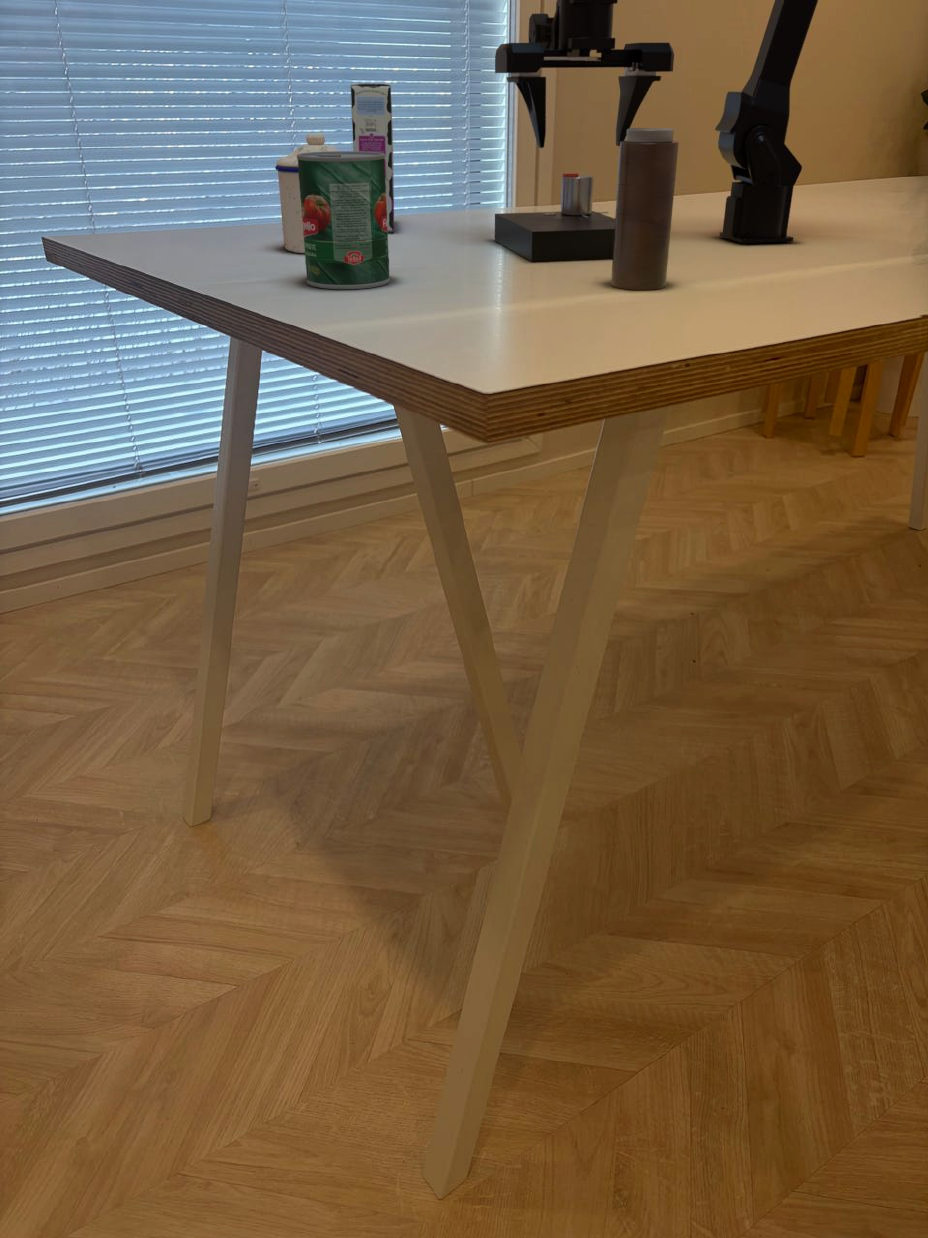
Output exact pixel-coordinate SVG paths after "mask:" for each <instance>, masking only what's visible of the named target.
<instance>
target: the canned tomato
mask: <svg viewBox="0 0 928 1238" xmlns="http://www.w3.org/2000/svg"><path fill="white" fill-rule="evenodd" d="M297 159H298V170H299V183H300V187H299V188H300V198H301V209H302V221H303V236H304V247H305V253H304V259H305V262H304V263H305V270H306V284H307V285H309V286H311V287H315V288H319V289H329V290H361V289H362V290H363V289H371V288H377V287H382V286H385V285H387V284H389V283H390V282H391V277H390V255H389V252H390V251H389V232H388V230H387V225H388V223H387V203H386V181H385V179H386V175H385V154H384V153H379V152H363V151H353V150H347V151H346V150H339V151H326V152H308V153H300V154H297Z"/></svg>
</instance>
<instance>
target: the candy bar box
mask: <svg viewBox="0 0 928 1238" xmlns="http://www.w3.org/2000/svg"><path fill="white" fill-rule="evenodd" d="M349 88H350V105H351V106H350V107H351V110H350V111H351V125H352V126H351V130H352V151H363V152H379V153H384V154H385V175H386V179H385V181H386V203H387V223H388V225H387V230H388V233H394V231H395V191H394V189H395V185H394V184H395V183H394V181H395V180H394V176H395V175H394V173H395V172H394V135H393V103H392V86H391V84H387V83H352V84H350V87H349Z"/></svg>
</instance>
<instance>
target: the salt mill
mask: <svg viewBox="0 0 928 1238" xmlns="http://www.w3.org/2000/svg"><path fill="white" fill-rule="evenodd" d="M674 132H675V130H674V128H667V127H633V128H631V127H630V129H627V136H626V138H625V140H624V141H621V142H620V146H619V153H618V154H619V156H618V170H617V171H618V173H617V187H616V201H615V202H616V203H615V217H614V219H615V231H614V246H613V259H612V264H611V279H610V285H611V287H613V288H617V289H622V290H630V291H653V290H659V289H663V288H665V287H666V285H667V274H668V263H669V253H670V243H671V230H672V220H673V219H672V218H673V208H674V196H675V185H676V177H677V176H676V175H677V164H678V163H677V162H678V151H679V141H677V140H676V141H675V140H674Z"/></svg>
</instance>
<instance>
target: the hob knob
mask: <svg viewBox="0 0 928 1238" xmlns="http://www.w3.org/2000/svg"><path fill="white" fill-rule="evenodd" d="M594 182H595V177H594V175H591V174H590V175H589V174H579V173H578V172H574V173H572V172H571V173H569V172H568V173H567V172H566V173H565V172H563V173H562V177H561V196H560V212H561V214H563V215H571V216H582V215H590V214H592V211H593V198H594Z"/></svg>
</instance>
